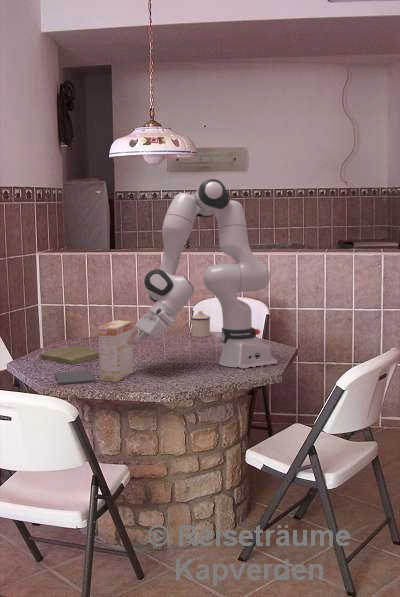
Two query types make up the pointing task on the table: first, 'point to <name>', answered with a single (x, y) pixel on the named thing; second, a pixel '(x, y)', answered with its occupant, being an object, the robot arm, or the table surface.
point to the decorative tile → (71, 355)
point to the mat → (75, 377)
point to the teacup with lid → (199, 325)
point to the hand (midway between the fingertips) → (135, 342)
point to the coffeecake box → (115, 350)
